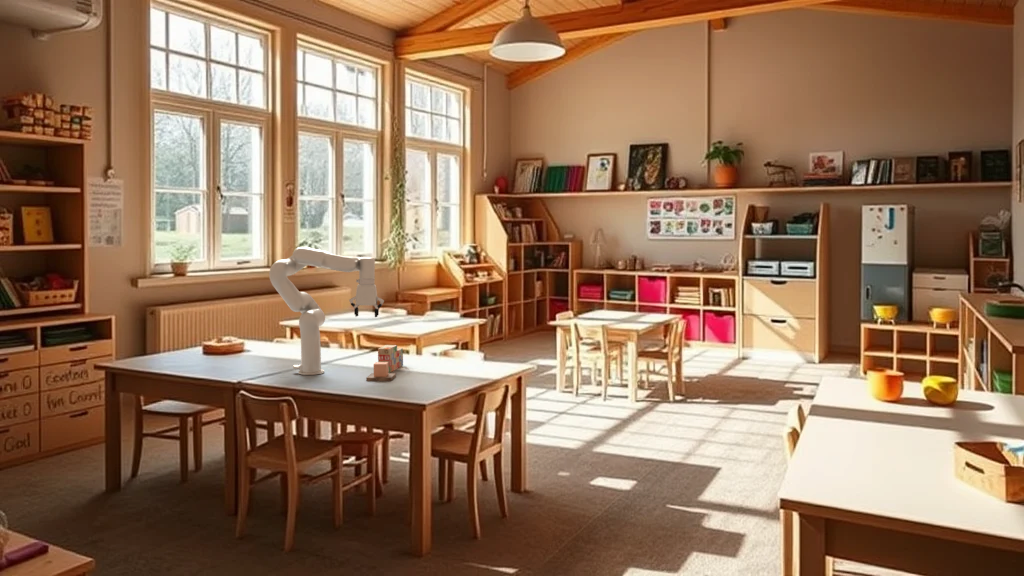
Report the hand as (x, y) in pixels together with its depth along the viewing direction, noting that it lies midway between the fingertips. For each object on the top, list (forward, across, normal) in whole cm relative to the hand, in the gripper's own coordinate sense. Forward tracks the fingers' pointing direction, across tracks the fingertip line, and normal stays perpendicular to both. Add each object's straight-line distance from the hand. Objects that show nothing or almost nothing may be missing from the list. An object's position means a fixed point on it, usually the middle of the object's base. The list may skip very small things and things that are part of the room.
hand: (366, 316), depth 408 cm
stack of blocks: (+29, +10, +16) cm, 34 cm away
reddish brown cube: (+27, +10, -12) cm, 31 cm away
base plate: (+28, +11, -12) cm, 33 cm away
